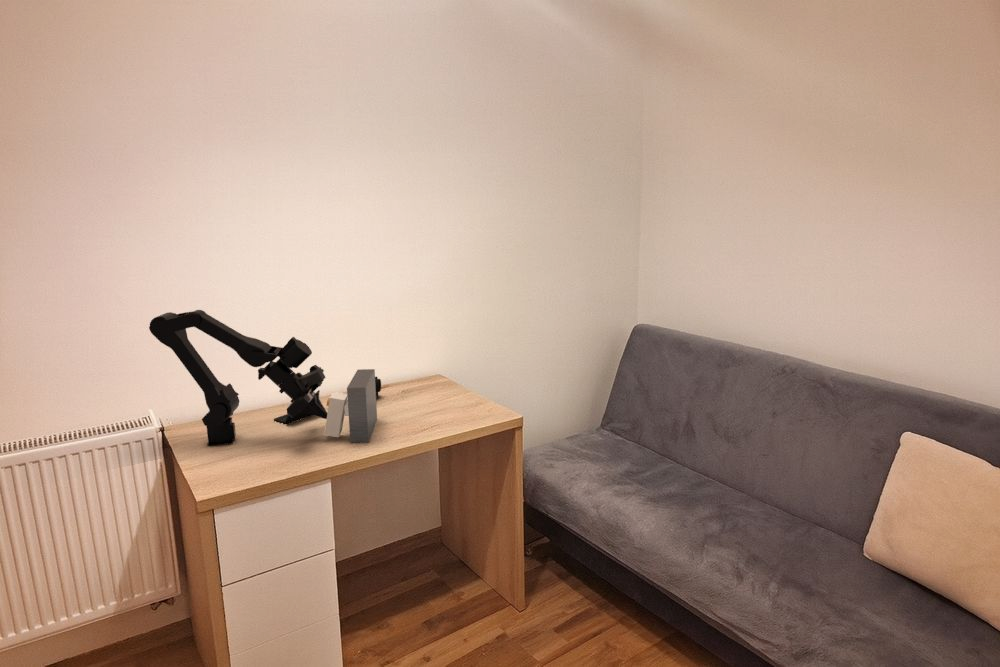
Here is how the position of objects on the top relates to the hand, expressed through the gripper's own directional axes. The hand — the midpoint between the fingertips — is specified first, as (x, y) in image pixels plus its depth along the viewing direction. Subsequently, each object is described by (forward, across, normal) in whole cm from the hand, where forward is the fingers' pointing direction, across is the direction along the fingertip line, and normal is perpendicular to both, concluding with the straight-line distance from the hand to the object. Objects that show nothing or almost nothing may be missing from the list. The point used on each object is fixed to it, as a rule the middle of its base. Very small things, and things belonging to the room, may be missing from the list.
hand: (327, 417), depth 181 cm
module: (+4, 0, +2) cm, 5 cm away
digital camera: (+10, +32, -1) cm, 34 cm away
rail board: (+10, +5, -2) cm, 12 cm away
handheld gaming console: (-4, +17, +14) cm, 22 cm away
